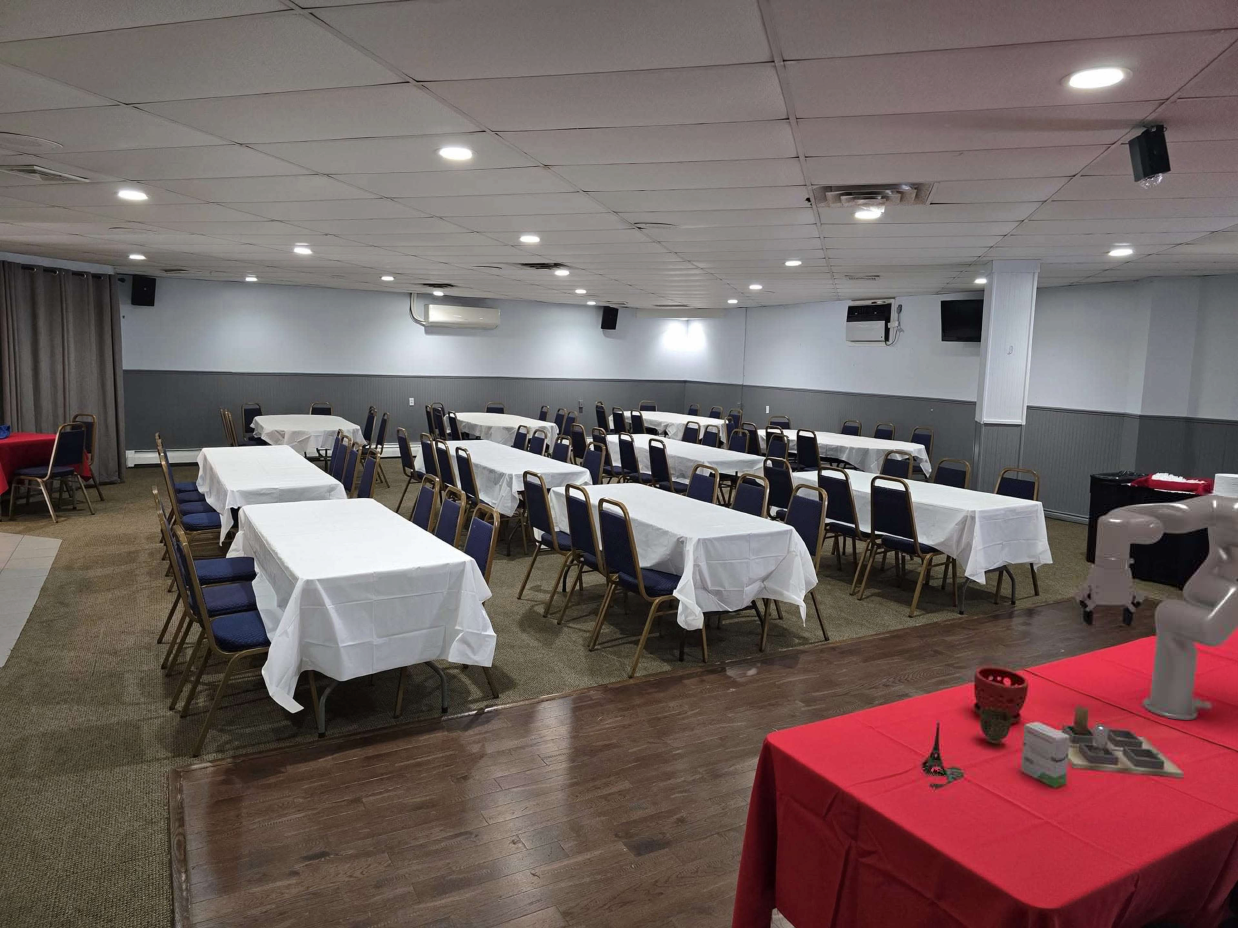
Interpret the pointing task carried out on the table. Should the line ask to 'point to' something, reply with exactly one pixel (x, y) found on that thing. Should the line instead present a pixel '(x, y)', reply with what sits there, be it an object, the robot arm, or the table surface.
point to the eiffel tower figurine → (940, 765)
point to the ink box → (1045, 754)
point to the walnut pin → (1080, 721)
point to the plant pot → (1000, 691)
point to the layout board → (1117, 752)
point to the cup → (995, 724)
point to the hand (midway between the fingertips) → (1107, 624)
